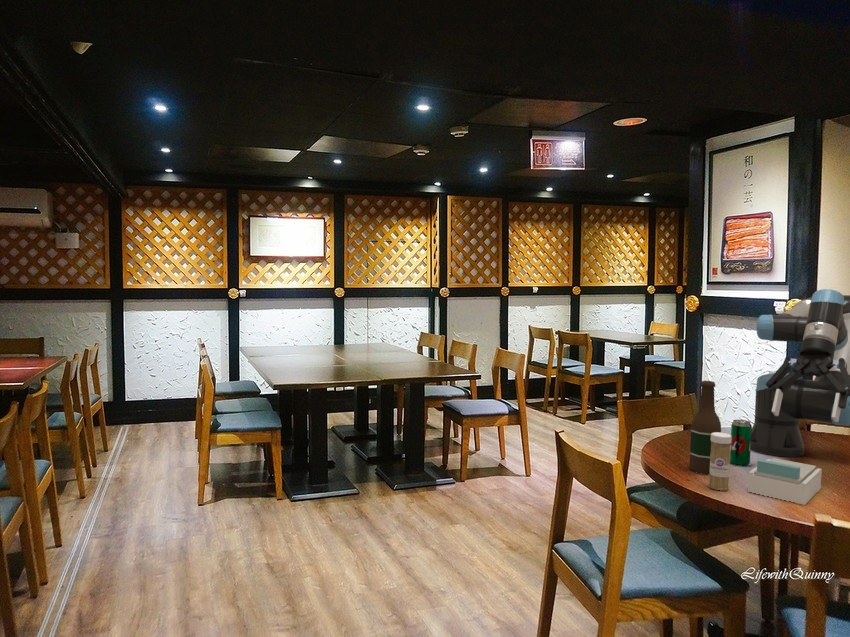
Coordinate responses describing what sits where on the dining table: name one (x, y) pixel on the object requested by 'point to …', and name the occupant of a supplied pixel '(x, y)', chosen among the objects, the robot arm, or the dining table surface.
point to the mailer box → (785, 487)
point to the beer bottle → (703, 430)
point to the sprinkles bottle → (719, 461)
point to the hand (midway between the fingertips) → (803, 416)
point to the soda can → (740, 442)
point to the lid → (784, 470)
